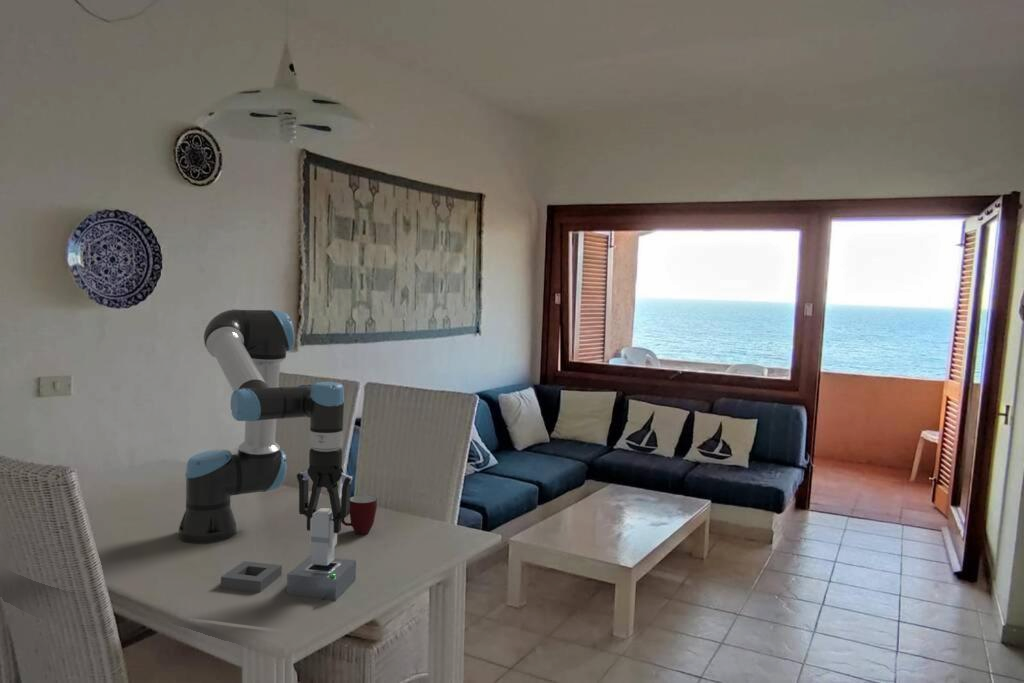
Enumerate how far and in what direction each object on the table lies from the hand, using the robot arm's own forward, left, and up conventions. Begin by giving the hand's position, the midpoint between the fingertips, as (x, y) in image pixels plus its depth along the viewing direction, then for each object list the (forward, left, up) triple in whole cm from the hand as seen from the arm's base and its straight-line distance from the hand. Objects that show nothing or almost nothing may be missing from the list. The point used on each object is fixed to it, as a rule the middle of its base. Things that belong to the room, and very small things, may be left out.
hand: (323, 544), depth 164 cm
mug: (-6, +38, -11) cm, 40 cm away
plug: (0, 0, -4) cm, 4 cm away
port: (0, 0, -11) cm, 11 cm away
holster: (-17, -2, -11) cm, 20 cm away
